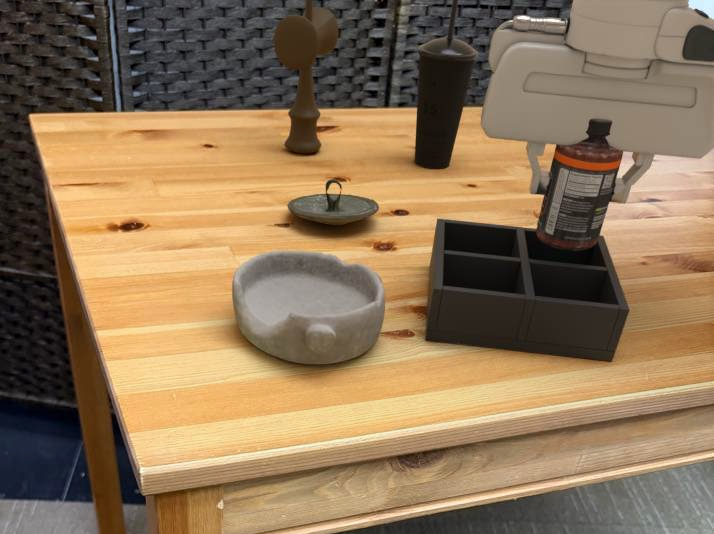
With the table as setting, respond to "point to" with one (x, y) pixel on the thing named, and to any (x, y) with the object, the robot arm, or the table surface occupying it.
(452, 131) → the drinking cup
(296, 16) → the kendama
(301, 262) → the dish
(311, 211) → the lid
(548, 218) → the supplement bottle
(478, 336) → the compartment organizer box
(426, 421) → the table surface
